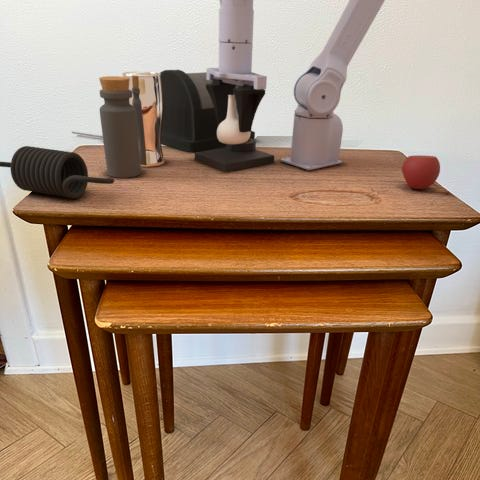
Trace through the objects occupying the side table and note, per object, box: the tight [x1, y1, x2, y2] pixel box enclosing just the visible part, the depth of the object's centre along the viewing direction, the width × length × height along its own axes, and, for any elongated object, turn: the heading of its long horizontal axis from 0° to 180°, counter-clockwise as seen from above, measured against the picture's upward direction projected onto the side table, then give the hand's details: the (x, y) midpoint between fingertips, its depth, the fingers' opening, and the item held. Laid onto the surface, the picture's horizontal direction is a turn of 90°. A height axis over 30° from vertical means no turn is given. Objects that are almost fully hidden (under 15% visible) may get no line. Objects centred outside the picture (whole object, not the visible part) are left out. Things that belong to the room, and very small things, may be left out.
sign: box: [71, 131, 103, 139], centre depth 102 cm, size 5×1×15 cm
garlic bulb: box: [217, 95, 252, 144], centre depth 84 cm, size 6×6×8 cm
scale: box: [194, 138, 275, 173], centre depth 90 cm, size 13×11×3 cm
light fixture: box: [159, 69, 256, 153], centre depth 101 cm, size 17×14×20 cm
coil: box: [0, 145, 115, 200], centre depth 69 cm, size 7×20×9 cm
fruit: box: [401, 155, 449, 195], centre depth 77 cm, size 6×6×8 cm
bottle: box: [98, 75, 142, 179], centre depth 77 cm, size 6×6×15 cm
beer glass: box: [121, 71, 165, 168], centre depth 83 cm, size 7×7×15 cm
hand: (233, 128), depth 85 cm, fingers closed on garlic bulb, 6 cm apart
